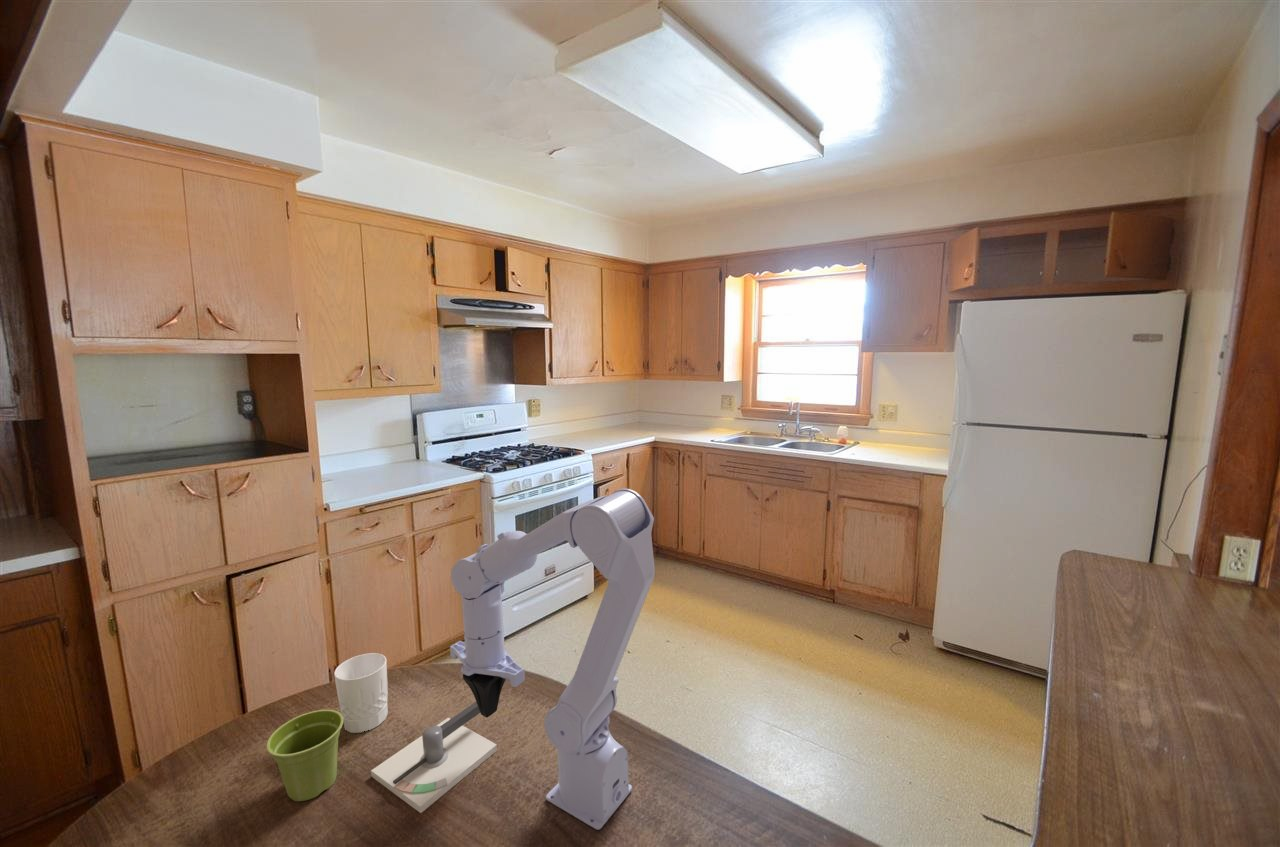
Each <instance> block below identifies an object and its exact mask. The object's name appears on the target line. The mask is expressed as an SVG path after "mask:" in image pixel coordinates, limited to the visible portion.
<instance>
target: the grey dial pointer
mask: <svg viewBox="0 0 1280 847" xmlns="http://www.w3.org/2000/svg"><path fill="white" fill-rule="evenodd" d="M479 714H481V713H480V710H479V708H478V705H477V702H476V701H475V702H474V703H472V704H470V705H469V706H468V707H466V708H464V709H463V710H462V711H460V712H459V713H457V714H455V715H454V716H453V717H451V718H450V720H449V721H447V722H446V723H444V724H443V725H441V726H440V727H439V726H437V725H433V726H429V727H426V729H425V730H423V732H422V735H421V736H422V738H423V750H424V759H422V760H421V761H420V762H418V763H417V764H416V765H414V766H413V767H411V768H410V769H409V770H407V771H406V772H405V773H403V774H402V775H401V776H399V777H398V778H396V779H395V780H394V781H393V783H394V784H396V783H398V782H399V781H400V780H402V779H403V778H405V777H406V776H407V775H409V774H410V773H411V772H413V771H414V770H415V769H417V768H418V767H419V766H421V765H422V764H424V763H425V762H426V763H430V764H431V763H436V762H438V761H439V760H441V759H442V758H443V756H444V748H443V739H444V738H446V737H447V736H448V735H450V734H451V733H453V732H454V731H455V730H457V729H458V728H460V727H461V726H462V725H463V726H464V725H465V724H467V722H469V721H470V720H472V719H473V718H475V717H476V716H477V715H479Z"/></svg>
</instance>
